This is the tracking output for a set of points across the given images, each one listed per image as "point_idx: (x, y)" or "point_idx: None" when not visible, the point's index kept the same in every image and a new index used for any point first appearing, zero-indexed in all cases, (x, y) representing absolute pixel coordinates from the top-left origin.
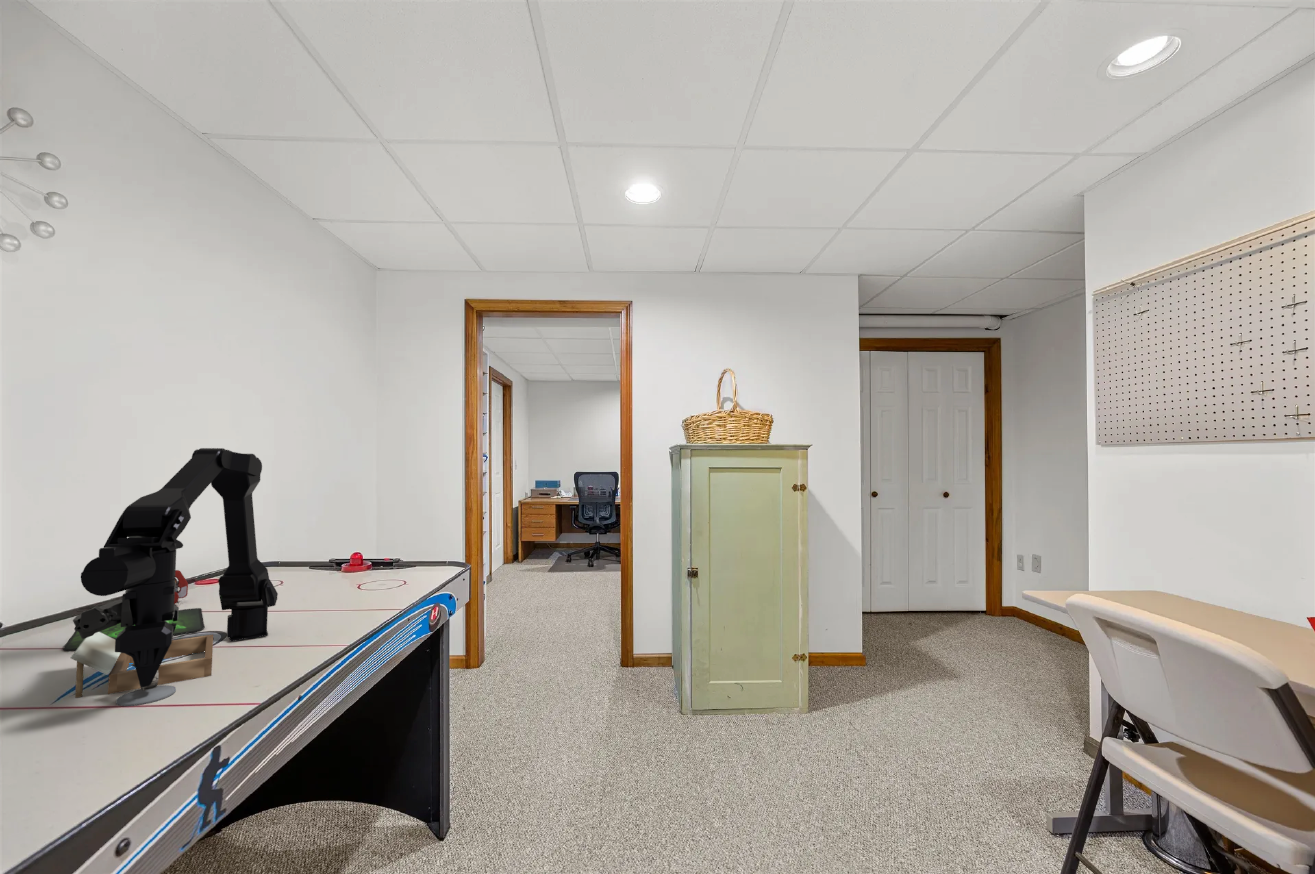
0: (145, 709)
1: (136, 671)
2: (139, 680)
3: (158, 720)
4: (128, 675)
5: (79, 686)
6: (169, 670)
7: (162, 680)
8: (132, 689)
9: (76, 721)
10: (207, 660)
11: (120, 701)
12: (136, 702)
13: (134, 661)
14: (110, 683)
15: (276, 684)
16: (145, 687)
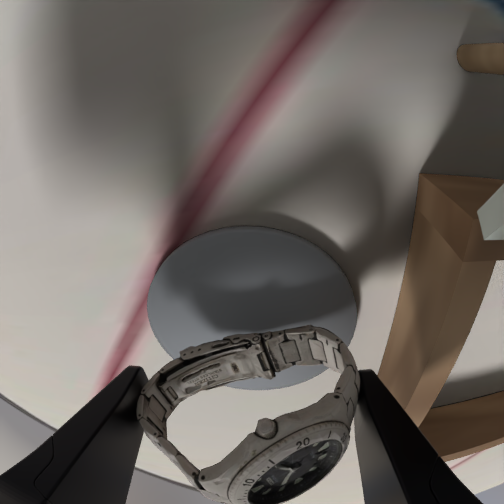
0: (100, 321)
1: (65, 423)
2: (104, 388)
3: (23, 339)
4: (438, 296)
5: (491, 58)
6: None
7: (389, 358)
8: (408, 263)
9: (60, 127)
10: None
11: (200, 252)
12: (150, 306)
13: (16, 465)
14: (444, 203)
15: (180, 474)
16: (165, 365)
